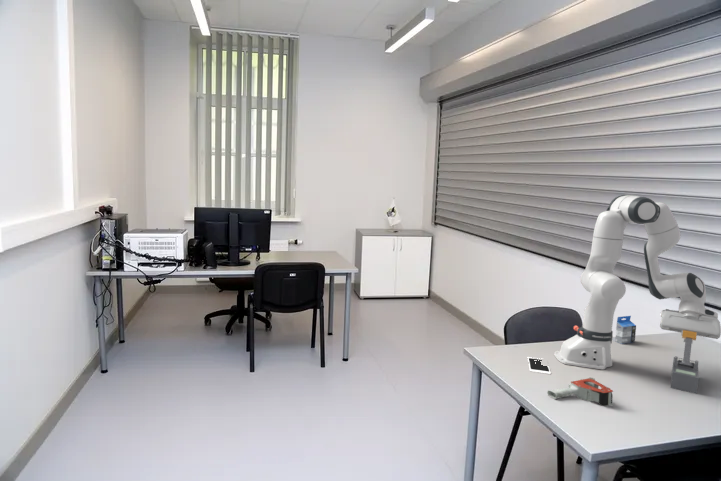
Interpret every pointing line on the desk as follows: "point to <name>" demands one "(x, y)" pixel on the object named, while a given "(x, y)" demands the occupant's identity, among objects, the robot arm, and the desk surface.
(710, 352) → the desk surface
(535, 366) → the cell phone
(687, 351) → the lever
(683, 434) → the desk surface
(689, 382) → the block
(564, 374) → the desk surface
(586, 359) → the robot arm
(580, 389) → the tape dispenser
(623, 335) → the label tape box
